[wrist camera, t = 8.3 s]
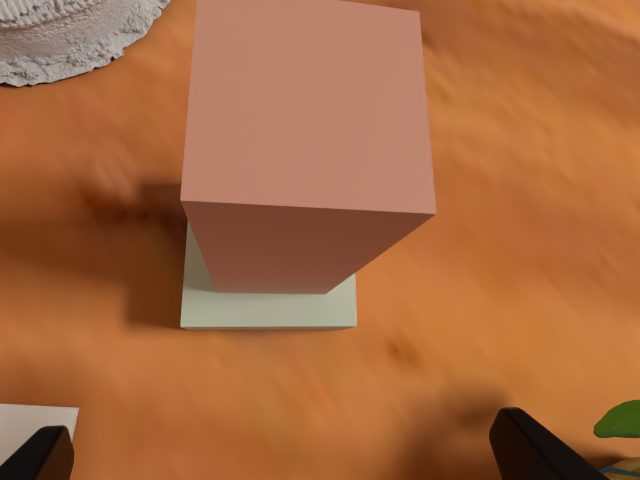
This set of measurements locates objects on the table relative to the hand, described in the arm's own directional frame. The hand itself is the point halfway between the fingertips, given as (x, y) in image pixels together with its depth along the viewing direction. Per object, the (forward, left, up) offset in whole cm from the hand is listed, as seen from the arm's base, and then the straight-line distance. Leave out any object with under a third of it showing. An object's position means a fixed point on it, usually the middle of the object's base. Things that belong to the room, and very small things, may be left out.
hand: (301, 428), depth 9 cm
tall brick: (+6, +2, -10) cm, 12 cm away
